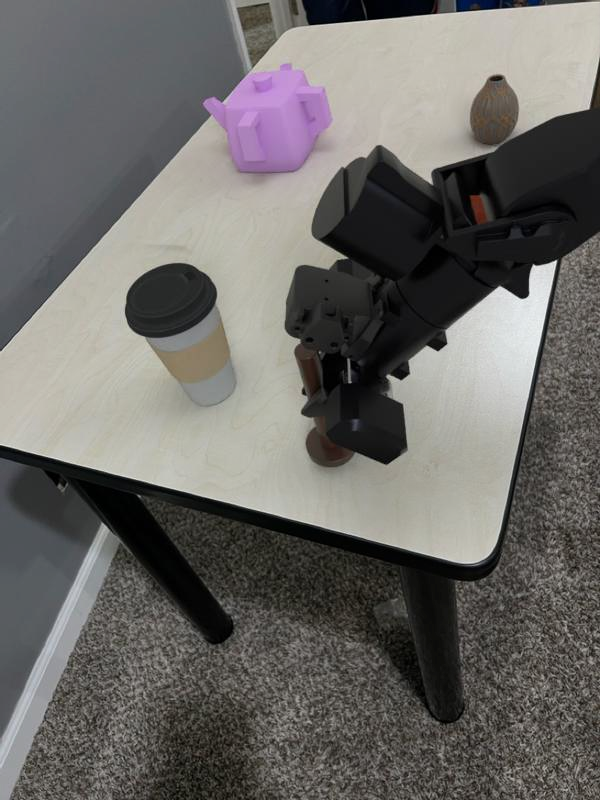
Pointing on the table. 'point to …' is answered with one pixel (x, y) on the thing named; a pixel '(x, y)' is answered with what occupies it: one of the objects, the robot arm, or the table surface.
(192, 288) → the coffee cup
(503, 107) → the vase
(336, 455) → the dark brown rod
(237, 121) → the teakettle
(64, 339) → the table surface
